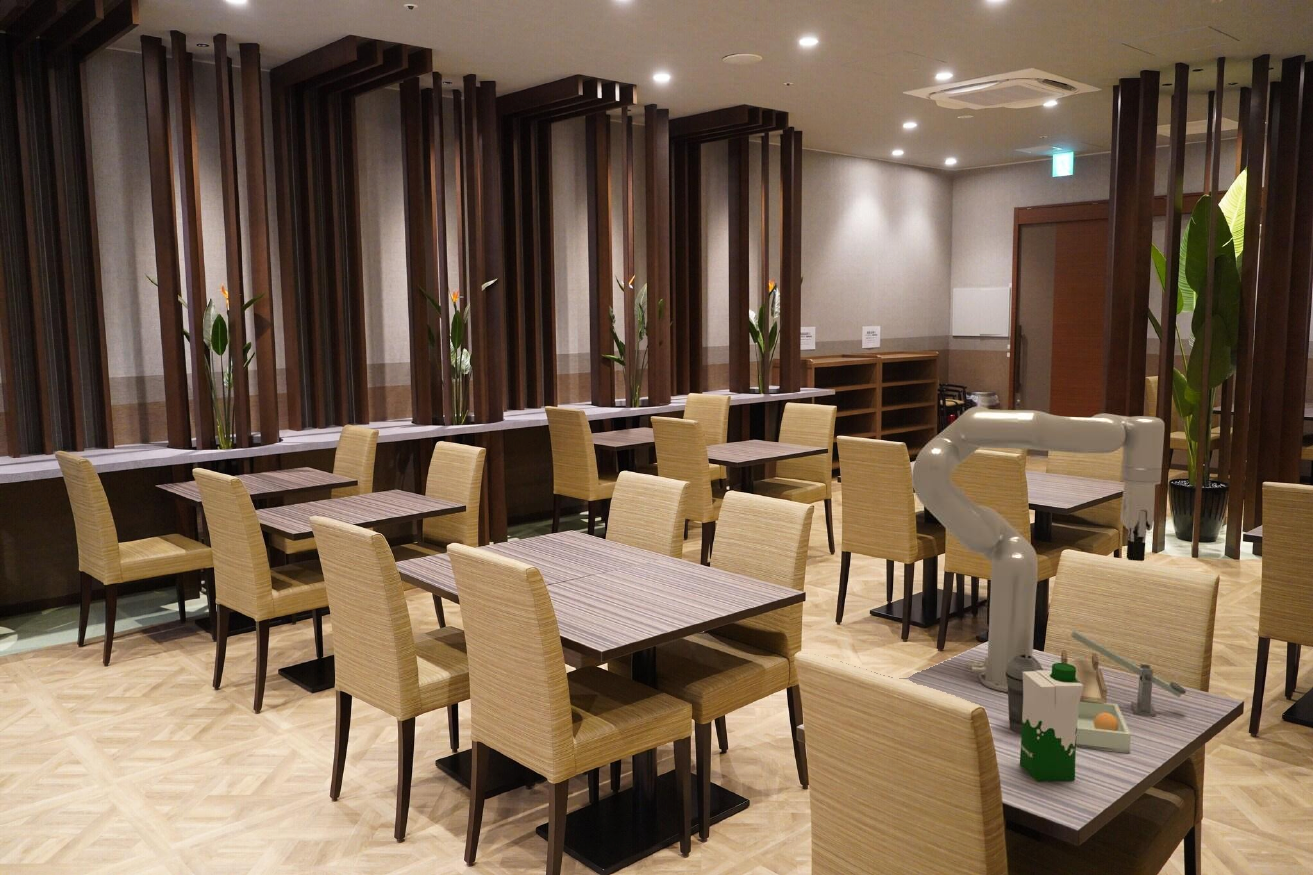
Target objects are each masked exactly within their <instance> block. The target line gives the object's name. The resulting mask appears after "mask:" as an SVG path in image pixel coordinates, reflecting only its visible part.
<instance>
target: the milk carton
mask: <svg viewBox="0 0 1313 875" xmlns="http://www.w3.org/2000/svg"><path fill="white" fill-rule="evenodd" d="M1042 670H1043V669H1042ZM1042 670H1036V671H1028V672H1023V713H1022V732H1021V735H1020V752H1019V753H1020V757H1019V765H1020V766H1021V767H1022V768H1023V769H1024V770H1025V771H1026V772H1027V773H1028V775H1030V776H1031V777H1032V778H1033V779H1034V780H1035V781H1036V782H1039V783H1040V782H1058V781H1059V782H1062V781H1063V782H1064V781H1065V782H1066V781H1075V780H1076V760H1077V759H1076V756H1077V755H1076V754H1077V751H1076V750H1077V747H1076V738H1077V723H1078V707H1079V701H1080V697H1081V694H1082V690H1083V685H1082V684H1081V683H1080V682H1079V681H1077V679H1076V678H1075V677H1076V668H1075V667H1074V666H1073V665H1070V664H1066V663H1061V662H1056V663H1053V664H1052V666H1051V670H1047V669H1046V670H1043V671H1042Z"/></svg>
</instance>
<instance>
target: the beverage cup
mask: <svg viewBox="0 0 1313 875" xmlns="http://www.w3.org/2000/svg"><path fill="white" fill-rule="evenodd" d="M1029 641H1030V636H1027V645H1026V655H1018V656H1016V657H1014V658H1013V659H1012V660H1011V661H1010V662H1009V664H1008V666H1007V670H1006V679H1007V684H1008V692H1007V699H1008V700H1007V701H1008V721H1009V722H1008V723H1009V730H1010V731H1011V732H1012V733H1014V734H1016V735H1020V736H1021V732H1022V713H1023V672H1028V671H1036V670H1042V671H1044V670H1043V667H1042V665H1041V663H1040V661H1039V660H1037V659H1036V658H1035V657H1033V655H1032V656H1029V655H1028V652H1029Z"/></svg>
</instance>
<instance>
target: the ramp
mask: <svg viewBox="0 0 1313 875" xmlns="http://www.w3.org/2000/svg"><path fill="white" fill-rule="evenodd" d="M1060 663H1066V664H1070V665H1073V666H1074V667H1075V668H1076V677H1075V678H1076V679H1077V681H1079V682H1080V683H1081V684H1082V685H1083V690H1082V694H1081V697H1080V700H1082V701H1091V702H1100V703H1107V694H1108V689H1107V685H1106V682H1105V679H1104V678H1105V677H1104V675H1103V672H1102V669H1101V668H1099V663H1100V660H1099V657H1098V655H1097V653H1096V652H1095V653H1094V652H1093V653H1091V660H1089V661H1088V660H1080V659H1070V658H1068V655H1067V650H1061V657H1060Z"/></svg>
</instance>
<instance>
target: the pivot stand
mask: <svg viewBox="0 0 1313 875" xmlns="http://www.w3.org/2000/svg"><path fill="white" fill-rule="evenodd" d="M1139 667H1140V668H1142V669H1143V674H1142V676H1140V675H1138V690H1137V702H1132V701H1131V702H1130V707H1131V709H1132V710H1133V712H1134V714H1135V715H1138V716H1146V715H1147V716H1148V717H1155V718H1156V717H1157V713H1156V711H1155V710H1156V709H1155V708H1154V706H1153V704H1152V692H1153V690H1152V689H1153V683H1152V676H1153V675H1154V670H1153V669H1151V665H1150V664H1148V663H1147V664H1145V663H1140V665H1139ZM1147 716H1146V717H1147Z"/></svg>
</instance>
